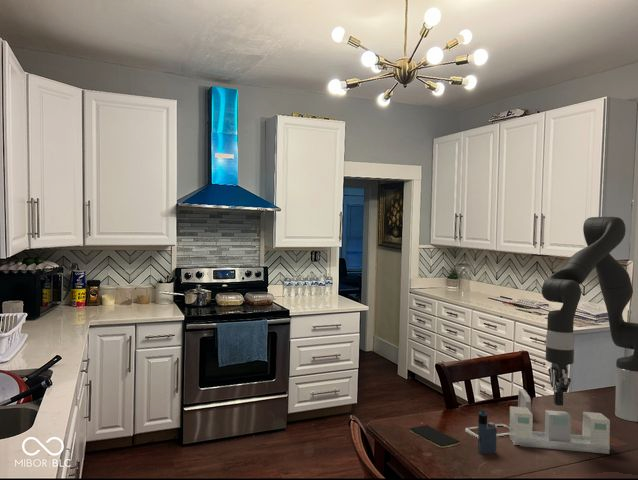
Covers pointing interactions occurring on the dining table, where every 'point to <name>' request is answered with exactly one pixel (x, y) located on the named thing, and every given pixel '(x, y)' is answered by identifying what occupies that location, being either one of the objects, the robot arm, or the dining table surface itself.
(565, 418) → the grey module
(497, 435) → the white rectangular frame
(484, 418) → the vaping device
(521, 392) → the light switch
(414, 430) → the smartphone
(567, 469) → the dining table surface
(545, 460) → the dining table surface
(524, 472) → the dining table surface
